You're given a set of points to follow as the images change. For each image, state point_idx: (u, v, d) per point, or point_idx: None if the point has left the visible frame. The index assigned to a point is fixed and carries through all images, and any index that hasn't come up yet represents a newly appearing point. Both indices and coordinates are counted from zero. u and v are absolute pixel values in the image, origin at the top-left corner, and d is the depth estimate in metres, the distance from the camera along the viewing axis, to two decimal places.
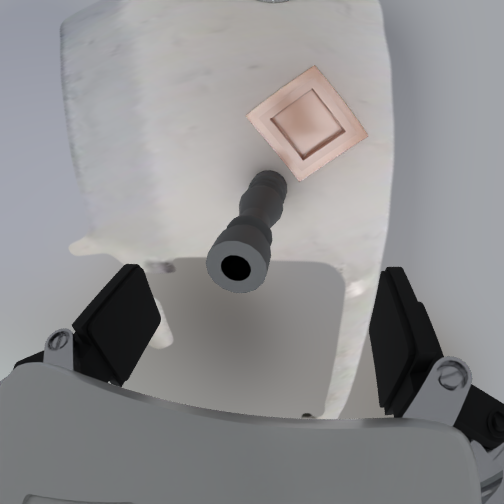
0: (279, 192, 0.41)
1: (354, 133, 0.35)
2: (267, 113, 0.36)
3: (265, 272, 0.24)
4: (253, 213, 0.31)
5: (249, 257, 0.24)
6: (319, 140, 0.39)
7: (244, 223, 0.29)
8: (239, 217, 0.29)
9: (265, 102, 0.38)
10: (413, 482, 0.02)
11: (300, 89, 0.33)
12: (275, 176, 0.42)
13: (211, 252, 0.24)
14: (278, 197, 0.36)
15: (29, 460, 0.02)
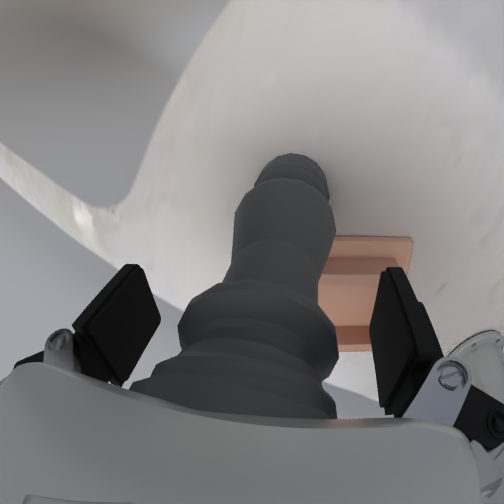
0: None
1: None
2: None
3: None
4: None
5: None
6: None
7: None
8: (329, 373, 0.08)
9: None
10: (413, 482, 0.02)
11: None
12: None
13: None
14: None
15: (29, 460, 0.02)
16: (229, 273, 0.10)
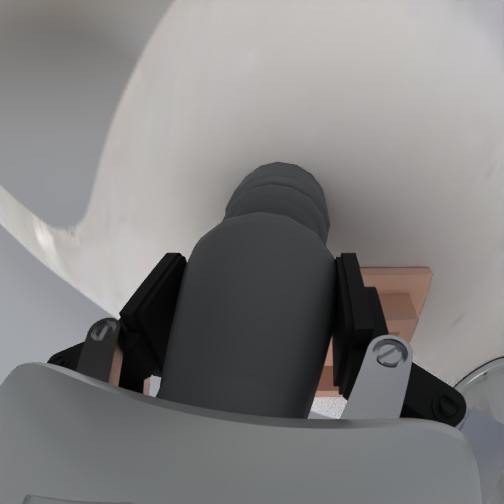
0: None
1: None
2: (409, 333, 0.17)
3: None
4: None
5: None
6: None
7: None
8: None
9: (417, 312, 0.20)
10: (413, 482, 0.02)
11: None
12: None
13: None
14: None
15: (29, 460, 0.02)
16: None
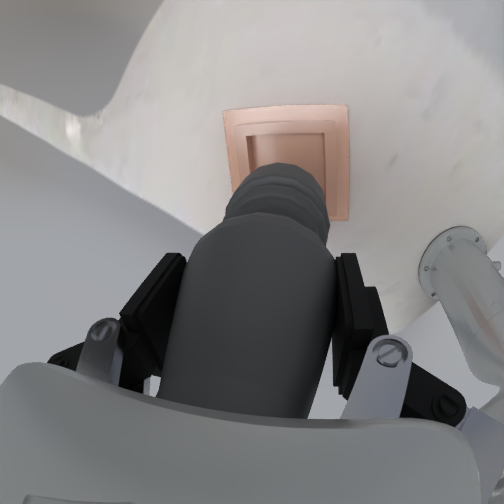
0: None
1: None
2: (333, 135, 0.25)
3: None
4: None
5: None
6: (261, 165, 0.31)
7: None
8: None
9: (346, 138, 0.27)
10: (413, 482, 0.02)
11: (334, 192, 0.28)
12: None
13: None
14: None
15: (29, 460, 0.02)
16: None
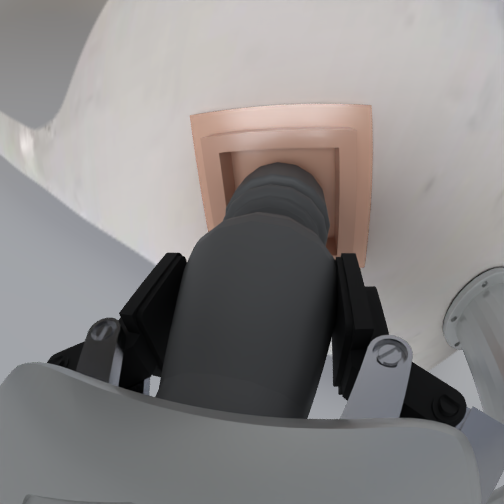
0: None
1: None
2: (352, 152, 0.16)
3: None
4: None
5: None
6: None
7: None
8: None
9: (368, 155, 0.18)
10: (413, 482, 0.02)
11: (349, 237, 0.19)
12: None
13: None
14: None
15: (29, 460, 0.02)
16: None
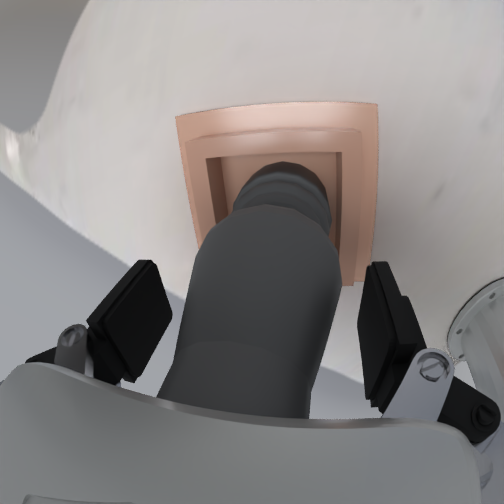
0: None
1: None
2: (356, 157, 0.14)
3: None
4: None
5: None
6: None
7: None
8: None
9: (373, 159, 0.17)
10: (413, 482, 0.02)
11: (352, 252, 0.17)
12: None
13: None
14: None
15: (29, 460, 0.02)
16: None
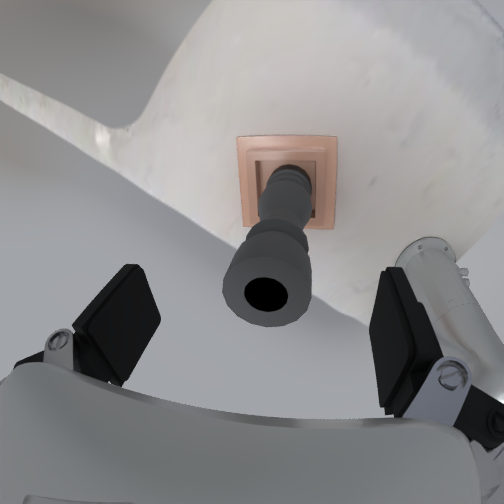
0: None
1: (252, 222, 0.39)
2: (323, 163, 0.33)
3: (239, 316, 0.18)
4: None
5: (269, 316, 0.18)
6: (265, 182, 0.39)
7: None
8: None
9: (334, 164, 0.36)
10: (413, 482, 0.02)
11: (321, 207, 0.36)
12: None
13: (306, 288, 0.16)
14: None
15: (29, 460, 0.02)
16: None
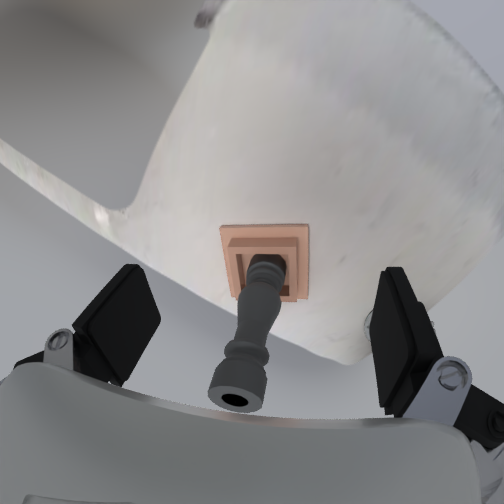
0: None
1: (237, 299, 0.47)
2: (294, 256, 0.40)
3: (220, 406, 0.26)
4: None
5: (239, 408, 0.25)
6: (247, 265, 0.46)
7: None
8: (267, 361, 0.30)
9: (306, 249, 0.43)
10: (413, 482, 0.02)
11: (294, 289, 0.43)
12: None
13: (258, 399, 0.24)
14: None
15: (29, 460, 0.02)
16: (238, 331, 0.31)
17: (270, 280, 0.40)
